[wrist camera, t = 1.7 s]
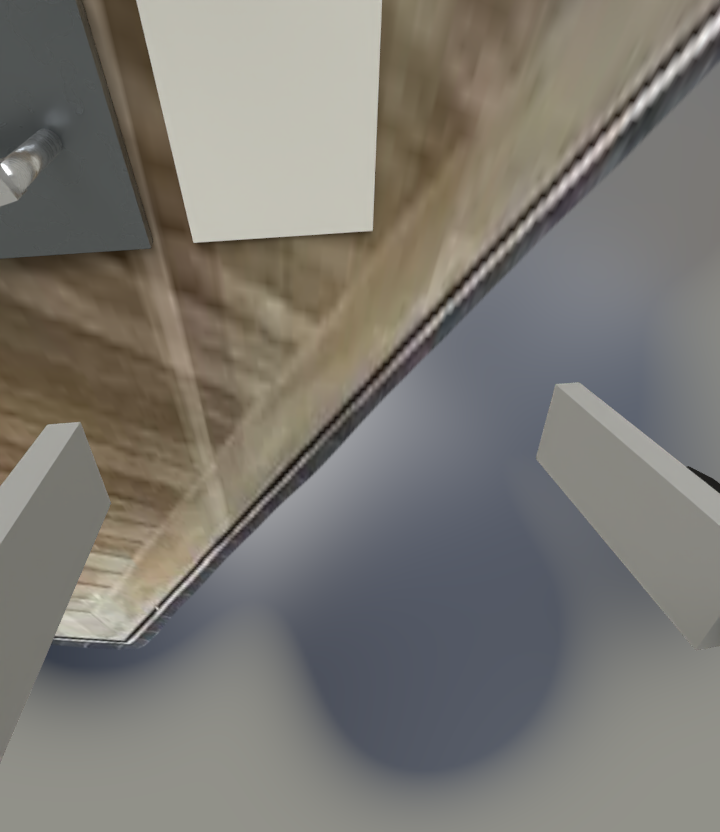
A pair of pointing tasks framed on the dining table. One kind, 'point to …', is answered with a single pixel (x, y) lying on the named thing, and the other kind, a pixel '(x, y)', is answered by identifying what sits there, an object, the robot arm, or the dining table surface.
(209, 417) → the dining table surface
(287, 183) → the pad
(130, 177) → the grey platform with railing
